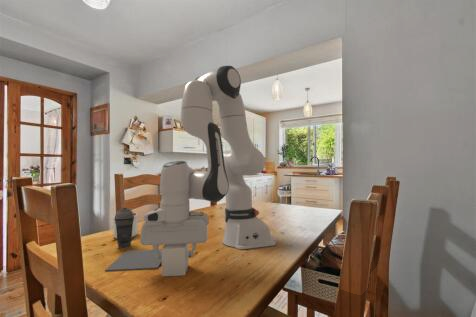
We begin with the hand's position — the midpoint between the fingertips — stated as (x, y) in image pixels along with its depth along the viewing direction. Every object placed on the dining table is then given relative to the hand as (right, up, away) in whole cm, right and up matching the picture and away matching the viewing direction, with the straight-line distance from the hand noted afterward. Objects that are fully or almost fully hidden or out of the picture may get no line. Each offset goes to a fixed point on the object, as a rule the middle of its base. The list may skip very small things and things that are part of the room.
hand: (175, 257), depth 71 cm
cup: (-33, -6, +35) cm, 49 cm away
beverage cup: (-27, -5, +22) cm, 35 cm away
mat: (-15, -4, +9) cm, 18 cm away
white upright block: (0, -4, 0) cm, 4 cm away
